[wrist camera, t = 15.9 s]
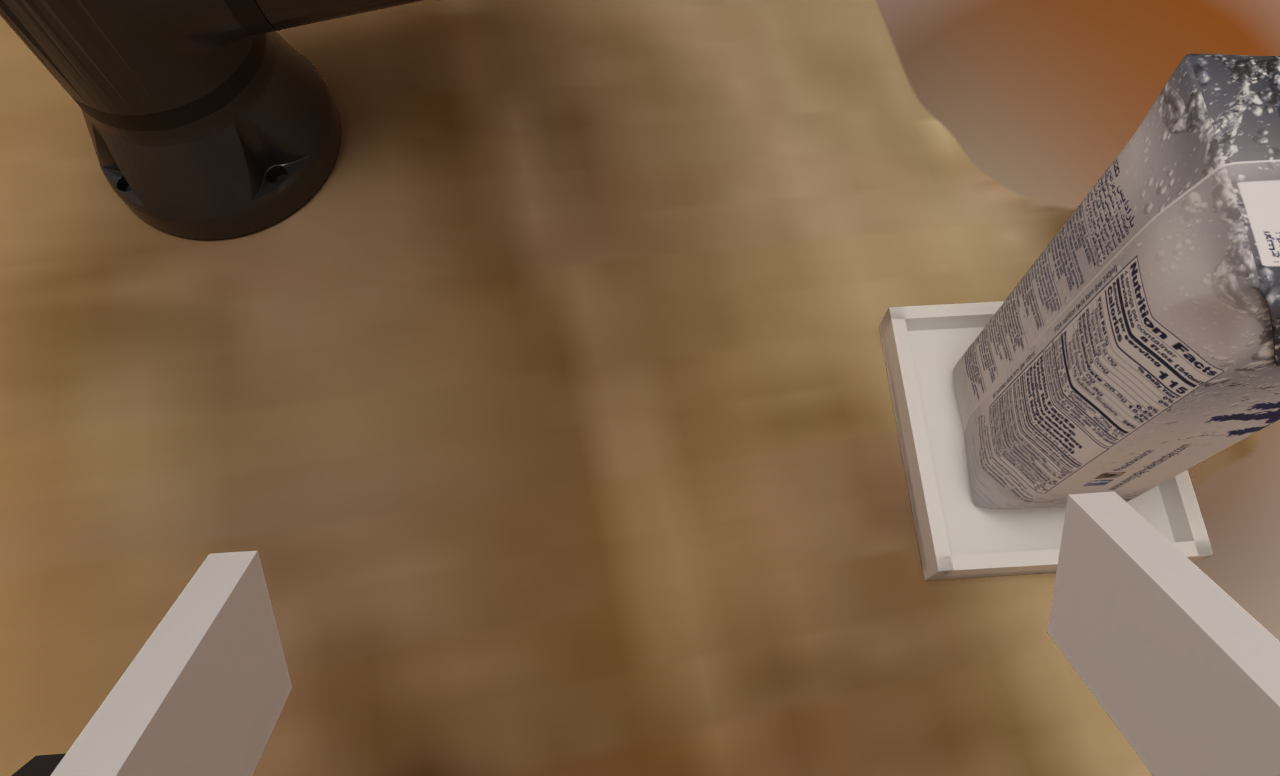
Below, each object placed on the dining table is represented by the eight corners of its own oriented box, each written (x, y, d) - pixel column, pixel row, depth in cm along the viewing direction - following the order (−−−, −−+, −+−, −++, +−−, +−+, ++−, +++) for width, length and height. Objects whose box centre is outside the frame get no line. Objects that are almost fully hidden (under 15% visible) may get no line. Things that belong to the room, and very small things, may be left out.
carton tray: (879, 326, 55) (889, 307, 53) (1113, 314, 55) (1133, 294, 53) (924, 580, 49) (938, 571, 47) (1187, 564, 49) (1213, 555, 47)
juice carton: (959, 527, 49) (1277, 286, 25) (932, 355, 54) (1183, -2, 29) (1119, 525, 49) (1601, 283, 25) (1081, 353, 54) (1461, -5, 29)
